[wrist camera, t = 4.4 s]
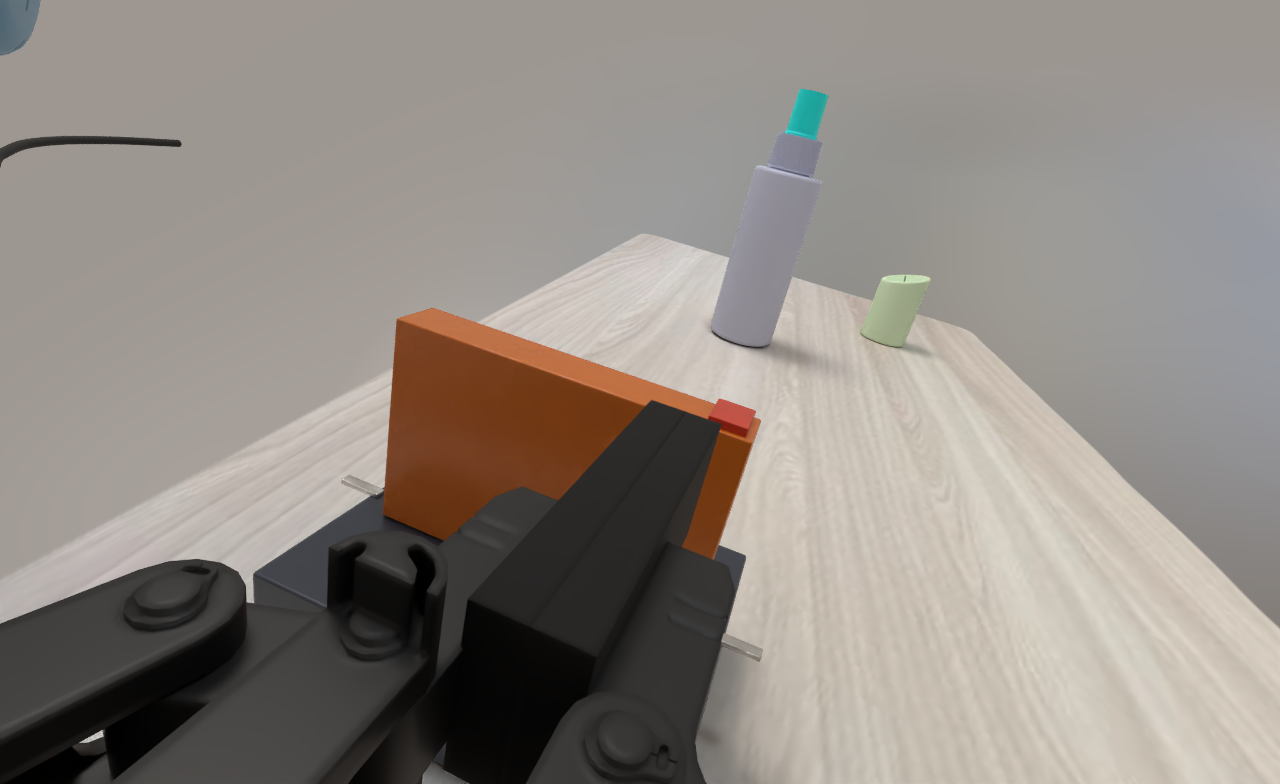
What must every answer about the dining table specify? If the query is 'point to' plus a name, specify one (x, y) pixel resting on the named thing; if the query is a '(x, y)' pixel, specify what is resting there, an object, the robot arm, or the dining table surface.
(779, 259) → the spray bottle
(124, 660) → the robot arm
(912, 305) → the candle
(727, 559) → the dark square tile
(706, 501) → the orange toy brick
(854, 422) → the dining table surface
